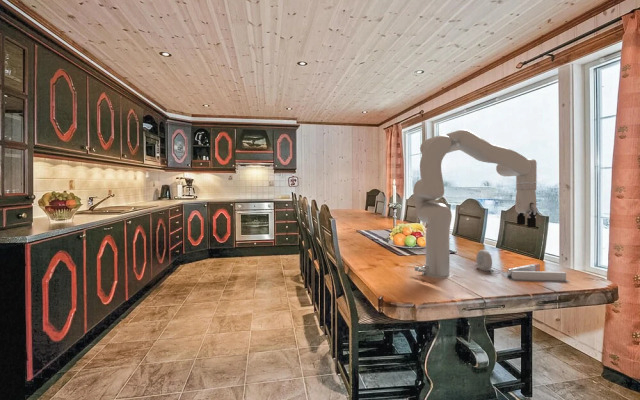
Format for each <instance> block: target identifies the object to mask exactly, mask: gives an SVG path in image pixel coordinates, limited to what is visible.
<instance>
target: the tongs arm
mask: <svg viewBox="0 0 640 400" xmlns="http://www.w3.org/2000/svg"><path fill="white" fill-rule="evenodd" d="M506 271H507V272H506V273H507V277H512V271H541V263H536V262H535V263H531V264H526V265H519V266H517V267H512V268H507V269H506ZM507 277H506V278H507Z"/></svg>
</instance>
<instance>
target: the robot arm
mask: <svg viewBox="0 0 640 400" xmlns="http://www.w3.org/2000/svg"><path fill="white" fill-rule="evenodd" d="M419 149H420V153H421V158H420V161H419V173H420V179H419V180H417V181H416V182H415V183H414V185H413V189H412V190H413V191H412V194H413V195H412V196H413V200H414V206H415V211H416V216H417V218H418V219H419V220H420V221H421V222H422V223H425V224H427V226H426V230H425V263H423V265H422V266H416V265H415V266H414V271H415V272H418V273H421V274H422V275H423V276H425V277H428V278H434V279H446V278H447V279H449V278H452V277H454V274H453V273H452V272H450V232H451V231H450V230H451V224H452V218H453V216H452V210H451V209H450V207H448V205H446V204H445V203H441V202H436V201H439V200H440V199H442V198H443V197H444V195H445V185H444V180H443V173H442V163H443V159H444V158H445V156H446V154H450V153H452V152H456V151H461V152H463V153H465V154H467V155H468V156H470V157H471V158H472V159H474V160H476V161H478V162H482V163H488V164H495V165H496V168H495V169H496V172H497V174H498V175H500V176H502V177H515V179H516V180H515V182H516V183H515V185H516V186H515V187H516V189H515V190H516V193H515V203H514V206H515V207H514V211H515V212H516V225H519V226H520V225H522V226H523V225H524V226H525V225H526V227H527V228H536V227H537V222H536V221H537V215H538V207H537V194H536V191H537V171H538V170H537V167H538V166H537V165H538V164H537V163H538V162H537V160H535V159H532V158H527V157H525V156H524V155H522V154H520V153H519V152H517V151H515V150H512V149H511V148H506V147H504V146H501V145H496V144H492V143H490V142H489V141H488V140H486V139H484V138H483V137H481V136H479V135H477V134H475V133H474V132H473V131H471V130H468V129H466V128H465V129H458V130H455V131H451V132H449V133H446V134H441V135H440V134H439V135H436V136H432V137H430V138H427V139H425V140H424V141H423V142H422V143H421V144H420V147H419ZM525 214H526V215H525ZM526 216H527V217H526Z"/></svg>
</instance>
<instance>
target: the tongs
mask: <svg viewBox="0 0 640 400" xmlns="http://www.w3.org/2000/svg"><path fill="white" fill-rule="evenodd" d="M499 274H501V276H503V277H505V278H507V279H509V280H510V281H511V282H514V281H515V282H516V281H517V282H540V283H541V282H545V283H546V282H548V283H549V282H550V283H570V281H569V280H567V272H564V271H545V270H544V271H543V270H542V271H541V270H540V271H512V277H507V272H500V271H499Z"/></svg>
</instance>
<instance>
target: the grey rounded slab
mask: <svg viewBox="0 0 640 400" xmlns="http://www.w3.org/2000/svg"><path fill="white" fill-rule="evenodd" d="M475 259H476V260H475V261H476V265H477V268H478V269H479V270H480V271H483V272H489V271H490V270H491V269H492V267H493V258H492V255H491V253H490V252H489V251H488V250H487V249H480V250H479V251H478V252H477V253H476V258H475Z"/></svg>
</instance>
